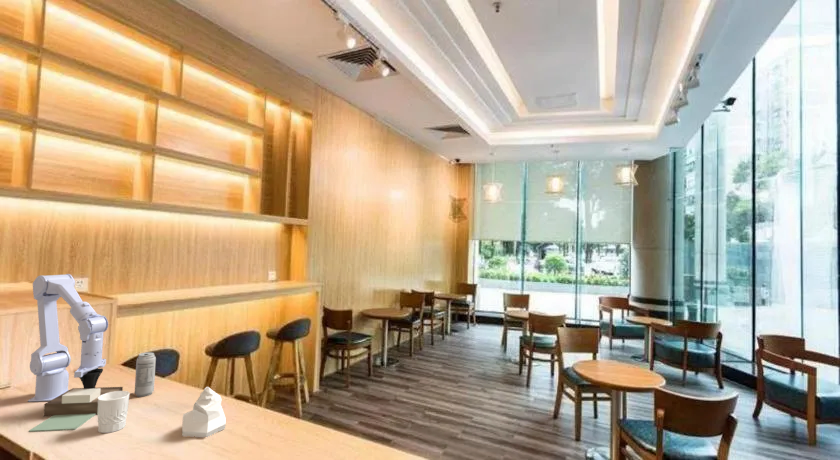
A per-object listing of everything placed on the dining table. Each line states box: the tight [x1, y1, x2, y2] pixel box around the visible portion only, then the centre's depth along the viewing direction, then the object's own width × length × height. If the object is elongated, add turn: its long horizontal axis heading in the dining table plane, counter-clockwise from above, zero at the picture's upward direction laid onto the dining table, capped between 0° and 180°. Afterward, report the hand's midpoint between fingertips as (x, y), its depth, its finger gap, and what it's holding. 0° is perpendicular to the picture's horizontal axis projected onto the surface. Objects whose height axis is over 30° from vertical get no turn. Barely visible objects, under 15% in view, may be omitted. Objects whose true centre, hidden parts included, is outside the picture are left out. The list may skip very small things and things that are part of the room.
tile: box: [62, 387, 101, 404], centre depth 135 cm, size 6×8×2 cm
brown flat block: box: [43, 386, 124, 417], centre depth 139 cm, size 14×16×4 cm
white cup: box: [97, 390, 130, 434], centre depth 124 cm, size 8×8×10 cm
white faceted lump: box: [181, 386, 227, 438], centre depth 126 cm, size 12×15×14 cm
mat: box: [28, 413, 97, 433], centre depth 126 cm, size 11×12×1 cm
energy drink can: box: [134, 351, 157, 398], centre depth 151 cm, size 6×6×15 cm
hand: (89, 391), depth 139 cm, fingers closed
